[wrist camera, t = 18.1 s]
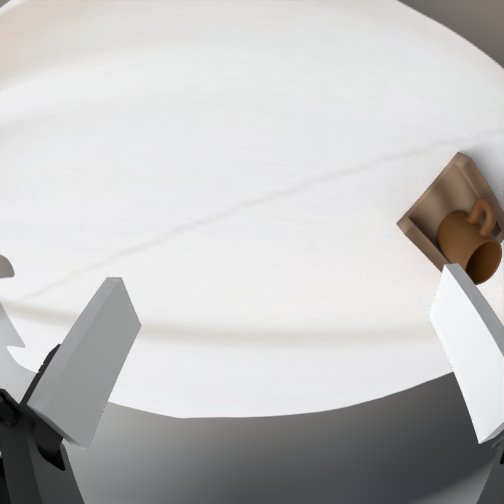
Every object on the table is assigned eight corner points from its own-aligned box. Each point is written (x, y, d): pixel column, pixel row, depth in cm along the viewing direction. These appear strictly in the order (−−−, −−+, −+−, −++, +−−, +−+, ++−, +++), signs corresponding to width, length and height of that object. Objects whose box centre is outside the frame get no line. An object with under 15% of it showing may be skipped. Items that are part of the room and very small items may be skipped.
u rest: (457, 151, 32) (470, 158, 29) (501, 219, 36) (512, 229, 33) (396, 223, 39) (404, 234, 36) (448, 278, 43) (456, 289, 40)
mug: (442, 180, 34) (477, 207, 26) (479, 182, 33) (515, 207, 25) (431, 253, 40) (457, 289, 32) (466, 250, 39) (494, 283, 31)
